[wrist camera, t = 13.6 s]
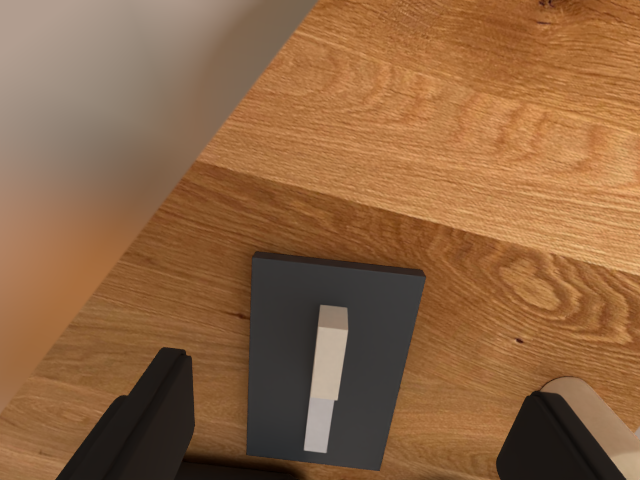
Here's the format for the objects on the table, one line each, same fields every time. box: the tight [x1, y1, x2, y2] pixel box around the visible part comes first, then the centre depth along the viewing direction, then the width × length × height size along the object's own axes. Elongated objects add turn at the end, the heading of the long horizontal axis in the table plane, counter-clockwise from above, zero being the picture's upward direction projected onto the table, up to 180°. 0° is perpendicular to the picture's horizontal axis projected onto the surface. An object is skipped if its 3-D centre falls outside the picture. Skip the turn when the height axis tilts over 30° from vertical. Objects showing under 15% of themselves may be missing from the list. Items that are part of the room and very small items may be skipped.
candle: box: [540, 377, 640, 480], centre depth 32 cm, size 6×6×10 cm
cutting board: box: [246, 251, 426, 471], centre depth 36 cm, size 16×26×2 cm, turn 174°
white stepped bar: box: [304, 305, 348, 453], centre depth 34 cm, size 19×3×4 cm, turn 174°
